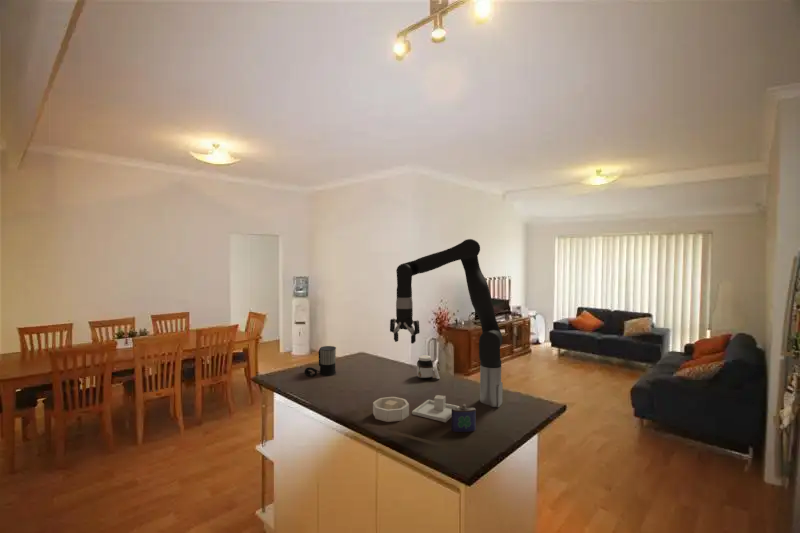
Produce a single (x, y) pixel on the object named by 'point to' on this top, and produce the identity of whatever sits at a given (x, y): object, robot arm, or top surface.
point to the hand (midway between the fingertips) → (404, 342)
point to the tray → (434, 411)
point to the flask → (463, 419)
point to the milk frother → (325, 362)
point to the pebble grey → (439, 402)
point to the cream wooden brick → (391, 405)
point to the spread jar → (426, 368)
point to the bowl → (390, 414)
